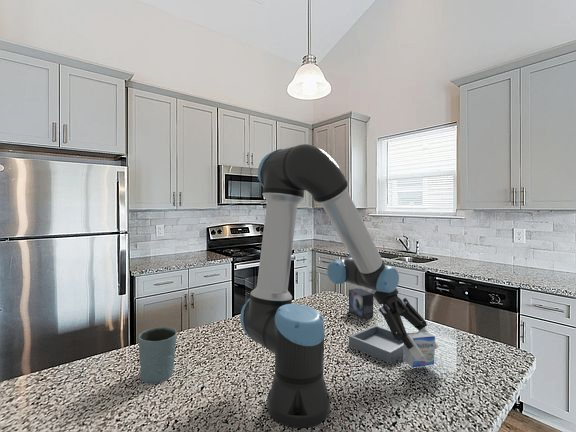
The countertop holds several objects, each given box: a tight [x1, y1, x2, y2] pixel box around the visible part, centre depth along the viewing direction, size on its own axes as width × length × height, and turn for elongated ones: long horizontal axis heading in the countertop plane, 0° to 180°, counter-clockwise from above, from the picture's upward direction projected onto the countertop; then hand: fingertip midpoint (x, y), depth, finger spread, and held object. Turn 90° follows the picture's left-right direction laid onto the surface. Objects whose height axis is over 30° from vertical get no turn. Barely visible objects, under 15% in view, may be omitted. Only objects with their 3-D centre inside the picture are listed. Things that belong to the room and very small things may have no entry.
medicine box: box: [402, 331, 436, 368], centre depth 95 cm, size 8×4×9 cm, turn 105°
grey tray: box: [348, 324, 404, 364], centre depth 109 cm, size 16×16×4 cm
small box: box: [348, 287, 375, 320], centre depth 143 cm, size 11×6×10 cm, turn 25°
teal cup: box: [137, 326, 178, 384], centre depth 90 cm, size 10×10×12 cm
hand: (427, 353), depth 93 cm, fingers closed on medicine box, 9 cm apart
